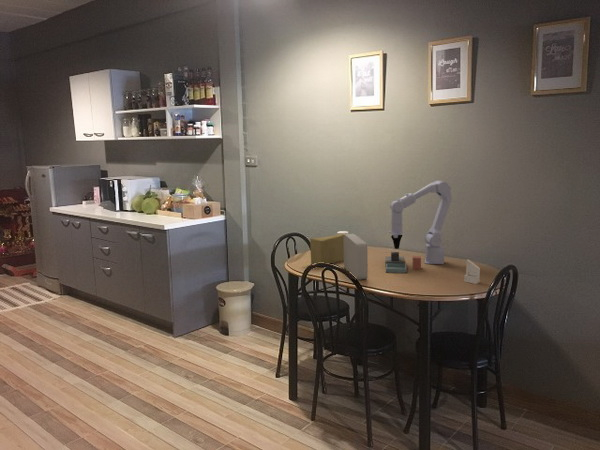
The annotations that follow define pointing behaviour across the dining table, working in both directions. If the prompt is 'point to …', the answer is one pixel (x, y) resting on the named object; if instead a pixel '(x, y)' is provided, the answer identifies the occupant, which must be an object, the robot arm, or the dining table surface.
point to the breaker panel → (388, 261)
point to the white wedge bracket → (472, 273)
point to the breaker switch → (394, 256)
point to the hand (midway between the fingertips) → (396, 248)
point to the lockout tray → (396, 268)
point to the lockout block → (416, 262)
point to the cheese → (327, 249)
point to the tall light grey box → (355, 256)
